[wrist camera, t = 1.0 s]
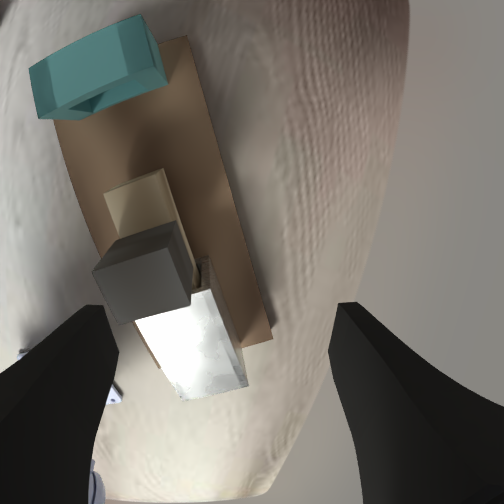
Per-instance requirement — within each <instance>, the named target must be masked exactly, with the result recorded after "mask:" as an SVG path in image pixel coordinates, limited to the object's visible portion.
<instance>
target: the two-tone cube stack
mask: <svg viewBox="0 0 504 504" xmlns="http://www.w3.org/2000/svg"><path fill="white" fill-rule="evenodd" d="M103 195H104V197H105V200H106V203H107V206H108V208H109V211H110V214H111V217H112V219H113V222H114V224H115V227H116V230H117V232H118V235H119V237H120V239H118V240H115V242H114V243H113V244H112V246H111V247H110V248H109V249H108V251H107V252H106V253H105V255H104V256H103V257H102V259H101V260H100V261H99V263H98V264H97V266H96V267H95V268H94V270H93V271H92V274H93V276H94V278H95V280H96V282H97V284H98V286H99V288H100V290H101V292H102V294H103V296H104V298H105V300H106V302H107V304H108V306H109V308H110V310H111V312H112V313H113V315H114V317H115V319H116V321H117V323H118V324H119V325H121V324H125V323H129V322H132V321H136V320H140V319H144V318H148V317H151V316H155V315H159V314H163V313H166V312H170V311H174V310H177V309H181V308H185V307H188V306H191V294H192V290H193V289H197V288H200V287H201V285H202V279H201V276H200V274H199V271H198V268H197V265H196V263H195V260H194V257H193V254H192V252H191V249H190V246H189V243H188V240H187V238H186V235H185V232H184V229H183V226H182V223H181V220H180V217H179V214H178V212H177V209H176V206H175V203H174V200H173V197H172V194H171V190H170V187H169V184H168V181H167V178H166V175H165V172H164V169H163V168H162V169H159V170H156V171H153V172H151V173H148V174H145V175H142V176H139V177H137V178H134V179H131V180H129V181H126V182H123V183H121V184H118V185H117V186H115V187H113V188H112V189H110V190H109V191H107V192H105V193H104V194H103Z"/></svg>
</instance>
